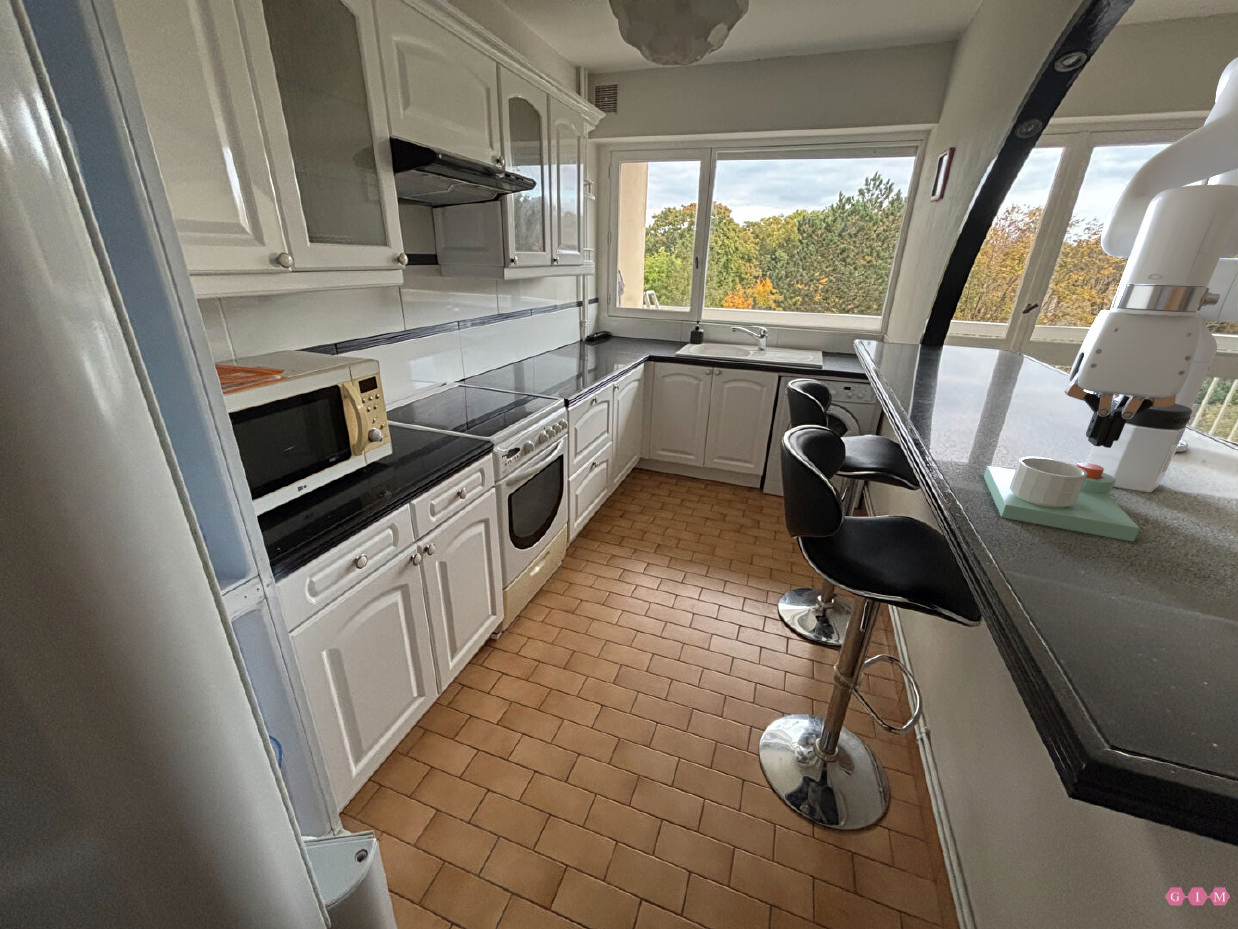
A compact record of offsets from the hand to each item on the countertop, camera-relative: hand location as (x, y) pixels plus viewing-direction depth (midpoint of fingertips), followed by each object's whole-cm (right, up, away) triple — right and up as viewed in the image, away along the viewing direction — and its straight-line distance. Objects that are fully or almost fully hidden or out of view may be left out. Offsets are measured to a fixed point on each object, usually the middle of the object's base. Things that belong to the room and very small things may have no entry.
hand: (1098, 443), depth 68 cm
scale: (-6, -8, 0) cm, 10 cm away
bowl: (-9, -7, -2) cm, 12 cm away
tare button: (0, -4, +2) cm, 5 cm away
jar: (+12, -5, +9) cm, 16 cm away
